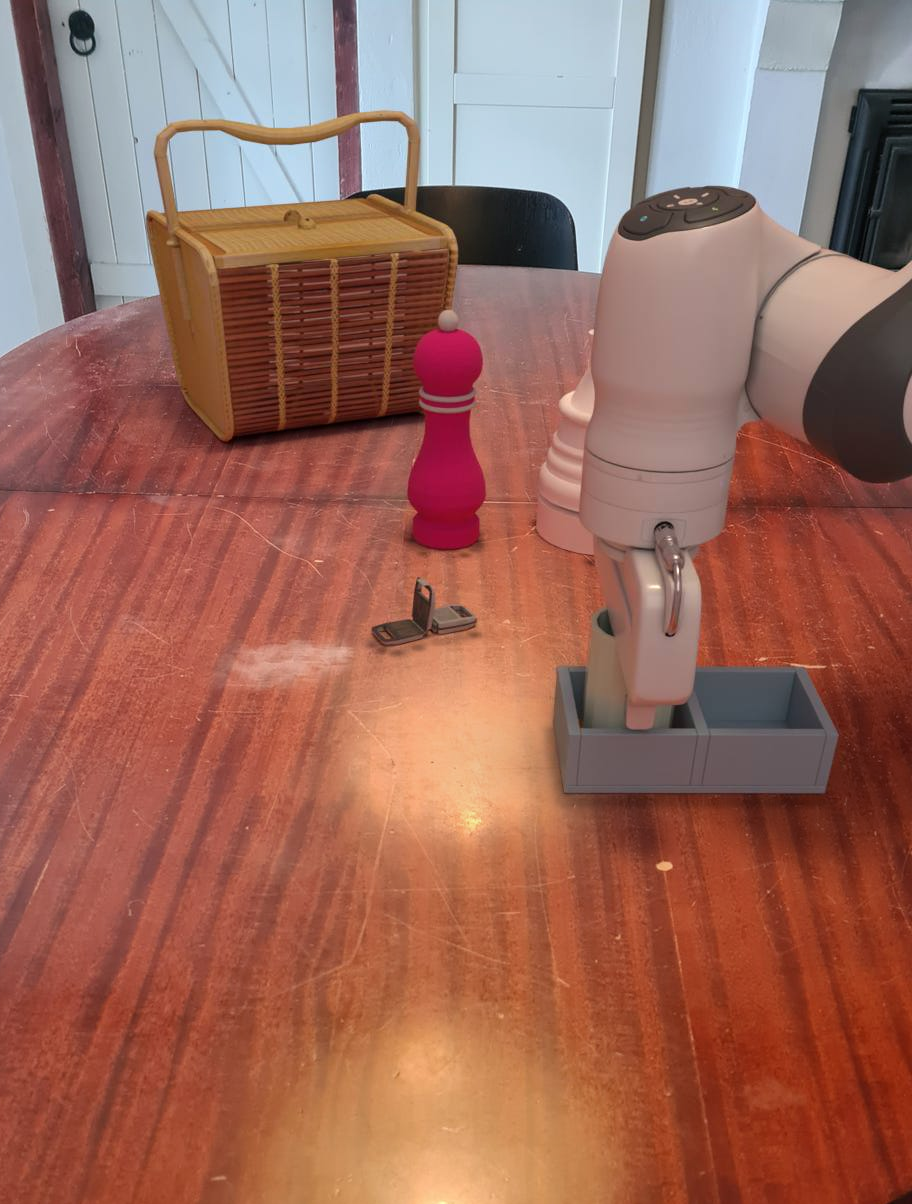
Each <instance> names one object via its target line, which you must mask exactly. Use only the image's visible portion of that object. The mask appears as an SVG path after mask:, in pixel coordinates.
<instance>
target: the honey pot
mask: <svg viewBox="0 0 912 1204" xmlns="http://www.w3.org/2000/svg"><path fill="white" fill-rule="evenodd" d="M593 333H594V328H593V329H590V330H589V331H588V342H589V346H590V348H591V349H592V343H593ZM594 401H595V390H594V383H593V379H592V374H591V364H590V365H589V366H588V368H587V369H586V371H585V372H584V374H583V376H582V377H581V378H580V380H579V383H578V384H577V386H576V388H575V389H574V390H571V391H569V392H568V393H565V394H564V395H563V396H562V397H561V398H560V399H559V400H558V406H557V407H558V408H557V409H558V412H559V413H560V414H561V416H562V417H561V420H560V422H559V425H558V427H557V429H556V430H555V432H554V433H553V434H552V442H551V446H550V447H549V448H547V449H548V450H547V454H546V460H545V461H544V462H543V463H542V464H541V466H540V469H539V474H538V489H537V491H538V492H537V502H536V503H537V504H536V506H537V507H536V523H535V530H536V532H537V533H538V535H539V537H541V538H542V539H543V540H544V541H545V542H547V543H548V544H550V545H553V546H555V547H557V548H559V549H562V550H565V551H569V552H572V553H576V554H582V555H588V556H589V555H590V556H594V547H593V534H592V533H590V532H589V531H588V530H587V529H585V528H584V526H583V525H582V524H581V522H580V520H579V503H580V491H581V478H582V466H583V453H584V442H585V435H586V430H587V427H588V425H589V422H590V419H591V417H592V414H593V409H594Z"/></svg>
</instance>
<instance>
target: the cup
mask: <svg viewBox="0 0 912 1204" xmlns="http://www.w3.org/2000/svg"><path fill="white" fill-rule="evenodd" d="M587 643H588V644H587V650H586V651H587V654H586V663H585V666H586V673H585V684H584V695H583V706H582V717H581V728H627V726H626V722H625V718H624V713H623V712H624V703H625V694H628V691H627V687H626V683H625V679H624V675H623V671H622V668H621V664H620V660H619V656H618V652H617V648H616V641H615V637H613V633H612V629H611V625H610V621H609V617H608V612H607V606H605V605H604V606H603V607H601V608H599V609H597V610H595V611H594V613H593V614H592V616H591V617H590V621H589V630H588V640H587ZM674 706H675V705H657V706H656V712H655V720H654V725H653V726H652V727H651V728H650V729H671V727H672V720H673V713H674ZM581 728H580V729H581Z"/></svg>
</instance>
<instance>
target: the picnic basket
mask: <svg viewBox="0 0 912 1204" xmlns="http://www.w3.org/2000/svg"><path fill="white" fill-rule="evenodd" d="M378 122H397V123H399V124H400V125H401V126H403V127H404V128H405V130H406V135H407V138H408V140H407V155H406V156H407V158H406V171H405V172H406V173H405V187H404V205H402V204H401V203H398V202H396V201H394V200H390V199H389V198H386V197H384V196H382V195H379V194H377V193H372V194H369V195H368V196H367V197H366V198H363V197H361V198H347V199H332V200H320V201H319V200H317V201H306V202H305V201H304V202H293V203H292V202H291V203H279V204H278V203H276V204H265V205H264V204H263V205H251V206H250V205H249V206H237V207H224V208H222V207H221V208H210V209H196V210H183V211H181V210H180V211H178V210H177V202H176V197H175V193H174V187H173V181H172V175H171V169H170V164H169V160H168V153H167V152H168V146H169V145H168V144H169V141H170V140H171V139H172V138H173V137H174V136H176V134H179V133H186V132H210V131H211V132H213V131H215V132H217V131H220V132H221V133H225V134H226V135H229V136H232V137H233V138H236V139H239V140H240V141H245V142H250V143H255V144H259V145H260V144H261V145H267V146H294V145H295V146H296V145H302V144H303V145H305V144H311V143H317V142H321V141H324V140H327V139H330V138H331V139H332V138H334V137H338V136H340V135H342V134H344V133H346V132H348V131H349V130H350V129H353V128H354V127H355V126H357V125H359V124H367V123H378ZM420 149H421V136H420V132H419V128H418V124H417V122H416V121H415V120H414V119H413V118H411V116H409V115H407V114H406V113H405V112H404V111H402V110H400V111H399V110H385V109H383V110H382V109H381V110H372V111H361V112H354V113H351V114H347V115H344V116H340V117H335V118H332V119H329V120H325V121H322V122H319V123H315V124H313V125H303V126H296V127H295V126H294V127H269V126H262V125H257V124H253V123H248V122H247V123H246V122H240V121H234V120H227V119H222V118H216V119H212V118H211V119H207V118H206V119H203V118H202V119H185V120H179V121H173V122H170V123H168V124H167V126H165V127H164V128H163V129H162V130H161V131H159V133H157V134H156V136H155V141H154V147H153V157H154V163H155V168H156V173H157V179H158V184H159V189H160V195H161V200H162V205H163V206H162V207H163V211H164V212H159V211H158V210H154V209H151V210H148V211H147V212H146V215H145V229H146V235H147V240H148V244H149V250H150V255H151V259H152V264H153V269H154V273H155V278H156V283H157V289H158V292H159V293H158V294H159V298H160V301H161V303H160V304H161V306H162V311H163V317H164V322H165V325H166V331H167V336H168V340H169V347H170V349H171V355H172V360H173V364H174V369H175V374H176V378H177V381H178V384H179V387H180V390H181V393H182V395H183V398H184V400H185V401H186V403H187V405H188V406H189V407H190V409H191V410H192V411H193V412H194V413H195V414H196V415H197V416H198V417H199V418H200V419H201V421H203V423H204V424H205V425H206V426H207V427H208V428H209V429H210V430H211V432H213V434H214V435H215V437H217V438H218V439H219V440H221V441H222V442H227V443H228V442H229V441H230V440H232V439H233V437H234V438H235V437H241V436H249V435H256V434H263V433H271V432H278V431H279V432H281V431H285V430H293V429H294V430H295V429H301V428H307V427H308V428H309V427H316V426H323V425H328V424H329V425H330V424H337V423H344V422H345V423H346V422H353V421H359V420H366V419H373V418H375V419H376V418H381V417H389V416H396V415H402V414H403V415H404V414H411V413H419V414H421V415H425V413H424V409H423V408H422V407H421V406H420V405H419V400H420V394H419V390H420V388H421V387H422V386H423V384H422V382H421V381H420V380H419V378H418V377H417V376H416V373H415V371H414V366H413V358H414V352H415V349H416V347H417V344H418V343H419V341H420V340H421V338H422V337H424V336H425V335H426V334H427V333H429V332H431V331H433V330H436V329H440V327H439V325H438V318H439V315H440V314H441V313H442V312H443V311H445V310H452V307H453V301H454V292H455V285H456V279H457V272H458V263H459V247H458V241H457V237H456V235H455V233H454V230H453V229H452V228H450V226H449V225H447V224H446V223H443V222H441V221H438V220H436V219H435V218H432V217H429V216H427V215H425V214H423V213H421V212H418V211H416V210H417V195H418V183H419V182H418V179H419V166H420V165H419V164H420V152H421V151H420Z"/></svg>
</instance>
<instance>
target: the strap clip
mask: <svg viewBox="0 0 912 1204" xmlns="http://www.w3.org/2000/svg"><path fill="white" fill-rule="evenodd" d="M422 587H423V588H425V589H426V590H428V592H429V595H428V597H427V596H426V595H424V593H422V592H423V591H422V590H423V588H422ZM435 593H436V592H435V588H434V587H433V585H431V584H430V583H428V582H427V581H426V580H425V579H424V578H423V577H421V576H418V577H417V578H416V581H415V585H414V591H413V597H412V598H413V599H412V609H411V618H412V619H411V618H407V619H401V620H395V621H390V622H384V623H380V624H377V625H374V626H372V627H371V633H372V634H373V635H374V636H375V637H376V638H377V639H378V640H379V641H380V642H381V643H382V644H384V645H401V644H405V643H409V642H413V641H416V640H420V639H423V638H424V635H425V636H426V633H428V632H429V631H430V630H431V631H432V632H433V633H434V634H438V635H444V634H449V633H454V632H461V631H466V630H467V629H470V628H472V627H475V626H476V624H477V623H478V618H477V616H476V614H474V613H473V612H472V610H470V609H469V608H467V606H465V605H463V604H447V605H443V606H438V607H436V594H435ZM461 615H462V616H464V617H462V616H461ZM385 631H387V632H388V634H389V635H390V636H392V637H391V638H385V637H384V635H382V633H381V632H385Z"/></svg>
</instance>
